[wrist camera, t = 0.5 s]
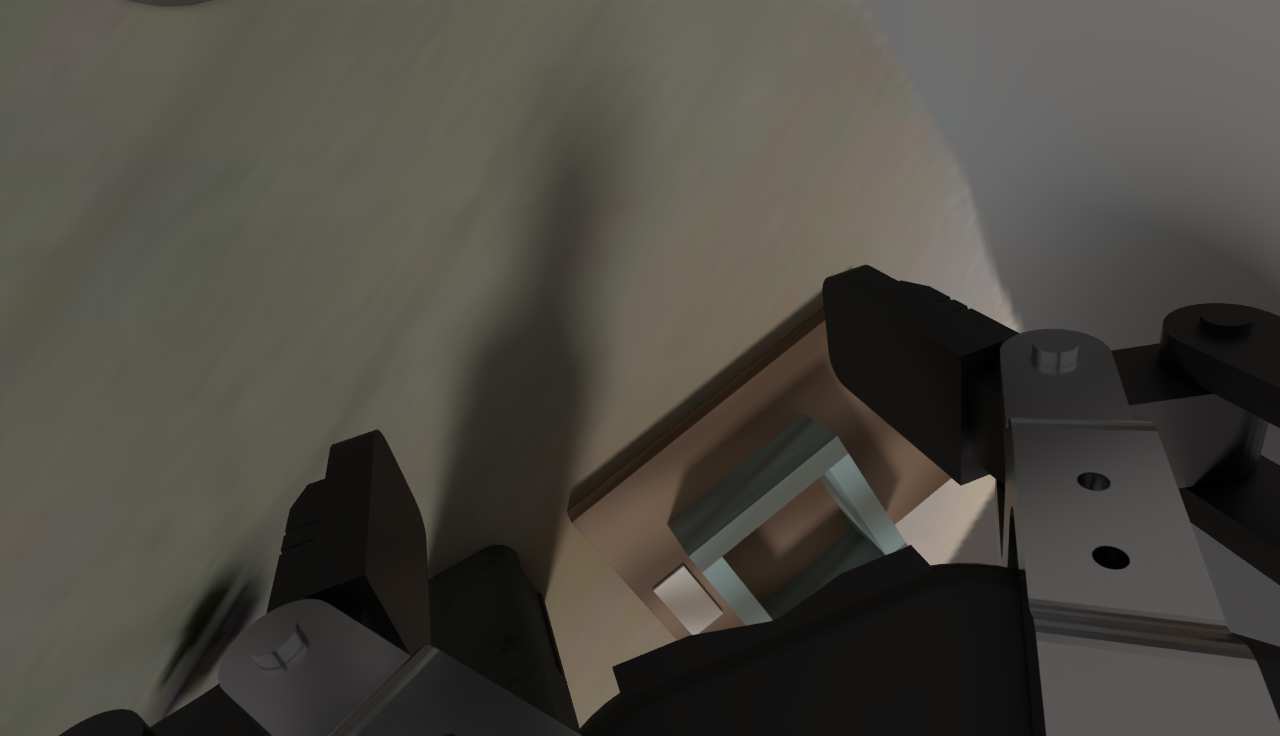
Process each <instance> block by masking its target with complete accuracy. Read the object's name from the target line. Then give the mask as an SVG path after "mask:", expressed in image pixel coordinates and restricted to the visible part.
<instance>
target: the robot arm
mask: <svg viewBox="0 0 1280 736" xmlns="http://www.w3.org/2000/svg"><path fill="white" fill-rule="evenodd" d="M128 1H132V2H138V3H144V4H150V5H156V6H187V5H195V4H198V3H202V2H206V1H210V0H128ZM822 291H823V303H824V313H825V322H826V332H827V342H828V352H829V358H830V362H831V365H832V368H833V370H834V373H835V375H836V376H837V378H838V380H839V381H840V382H841V384H842V385H843V386H844V387H845V388H846V389H848V390H849V391H850V392H851V393H852V394H854V395H855V396H856V397H857V398H858V399H859V400H861V401H862V402H863V403H864V404H865V405H866V406H868V407H869V408H870V409H871V410H872V411H874V412H875V413H876V414H877V415H878V416H879V417H881V418H882V419H883V420H884V421H885V422H886V423H888V424H889V425H890V426H891V427H892V428H894V429H895V430H896V431H897V432H898V433H899V434H901V435H902V436H903V437H904V438H905V439H906V440H908V441H909V442H910V443H911V444H912V445H914V446H915V447H916V448H917V449H918V450H919V451H921V452H922V453H923V454H924V455H925V456H926V457H928V458H929V459H930V460H931V461H932V462H934V463H935V464H936V465H937V466H938V467H939V468H941V469H942V470H943V471H944V472H945V473H946V474H948V475H949V476H950V477H951V478H952V479H954V480H955V481H956V482H957V483H958V484H959V485H964V484H966V483H969V482H971V481H974V480H976V479H979V478H981V477H984V476H986V475H989V474H990V475H992V476H993V477H994V478H995V479H996V482H995V505H996V522H997V539H998V555H999V566H997V565H987V564H979V563H950V564H938V565H931V566H930V565H929V564H928V562H927V561H926V560H925V559H924V558H923V557H922V556H921V555H920V554H919V553H918V552H917V551H916V550H915V549H914V548H913V547H912V546H911V545H909V546H907V547H905V548H902V549H900V550H897V551H895V552H892V553H890V554H887V555H885V556H883V557H880V558H878V559H875V560H873V561H870V562H868V563H865V564H863V565H861V566H858V567H856V568H853V569H851V570H848V571H846V572H843V573H841V574H840V575H838V576H837V577H836V578H834V579H833V580H831V581H830V582H829V583H827V584H826V585H824V586H823V587H822V588H820V589H819V590H818V591H816V592H815V593H813V594H812V595H811V596H809V597H808V598H806V599H805V600H804V601H802V602H801V603H800V604H798V605H797V606H795V607H794V608H793V609H791V610H790V611H788V612H787V613H786V614H784V615H783V616H781V617H780V618H778V619H775V620H772V621H768V622H763V623H758V624H752V625H746V626H740V627H735V628H729V629H723V630H718V631H712V632H706V633H701V634H695V635H689V636H687V637H684V638H682V639H680V640H677V641H675V642H672V643H670V644H667V645H665V646H662V647H660V648H657V649H655V650H653V651H650V652H648V653H645V654H643V655H640V656H638V657H635V658H633V659H631V660H628V661H626V662H623V663H621V664H618V665H616V666H613V667H612V668H613V671H614V674H615V677H616V680H617V684H618V687H619V690H620V693H619V694H617V695H616V696H615V697H613V698H612V699H611V700H609V701H608V702H607V703H605V704H604V705H603V706H602V707H601V708H600V709H599V710H598V711H597V712H595V713H594V714H593V715H592V716H591V717H590V718H589V719H588V720H587V721H586V722H585V724H584V725H583V726H582V727H581V728H580V729H579V730H578V731H577V732H575V731H574V730H572V729H570V728H569V727H567V726H565V725H564V724H562V723H560V722H559V721H557V720H555V719H554V718H552V717H550V716H549V715H547V714H545V713H544V712H542V711H540V710H539V709H537V708H535V707H534V706H532V705H530V704H529V703H527V702H525V701H524V700H522V699H520V698H519V697H517V696H515V695H514V694H512V693H510V692H509V691H507V690H505V689H504V688H502V687H500V686H499V685H497V684H495V683H494V682H492V681H490V680H489V679H487V678H485V677H484V676H482V675H480V674H479V673H477V672H475V671H474V670H472V669H470V668H469V667H467V666H465V665H464V664H462V663H460V662H459V661H457V660H455V659H454V658H452V657H451V656H449V655H447V654H446V653H444V652H442V651H441V650H439V649H437V648H435V647H433V646H431V637H430V614H429V591H428V568H427V545H426V533H425V527H424V523H423V520H422V516H421V513H420V510H419V508H418V505H417V503H416V501H415V498H414V496H413V494H412V492H411V490H410V488H409V486H408V484H407V482H406V480H405V478H404V476H403V474H402V472H401V470H400V468H399V466H398V464H397V462H396V459H395V457H394V455H393V453H392V451H391V449H390V447H389V445H388V443H387V441H386V439H385V438H384V436H383V434H382V433H381V432H380V431H379V430H374V431H371V432H368V433H365V434H362V435H359V436H356V437H353V438H350V439H347V440H344V441H341V442H339V443H336V444H333V445H332V446H331V448H330V452H329V458H328V464H327V470H326V476H325V479H323V480H320V481H317V482H314V483H311V484H308V485H307V487H306V488H305V489H304V491H303V492H302V493H301V495H300V496H299V497H298V499H297V500H296V502H295V503H294V504H293V506H292V507H291V508H290V512H289V516H288V521H287V525H286V529H285V532H286V535H285V536H284V538H283V543H282V547H281V552H282V554H281V555H280V556H279V560H278V565H277V569H276V573H275V578H274V582H273V587H272V591H271V595H270V600H269V604H268V609H267V613H266V614H265V615H264V616H262V617H261V618H259V619H258V620H257V621H255V622H254V623H252V624H251V625H250V626H249V627H248V628H247V629H245V630H244V631H243V632H242V633H241V634H240V635H239V636H238V637H237V639H236V640H235V641H234V642H233V643H232V645H231V646H230V647H229V649H228V650H227V652H226V654H225V655H224V657H223V659H222V662H221V664H220V668H219V672H218V681H219V684H218V685H216V686H215V687H214V688H212V689H211V690H209V691H208V692H206V693H205V694H203V695H202V696H200V697H198V698H197V699H195V700H193V701H192V702H190V703H189V704H187V705H185V706H184V707H182V708H180V709H179V710H177V711H176V712H174V713H172V714H171V715H169V716H168V717H166V718H164V719H163V720H161V721H159V722H158V723H156V724H155V725H153V726H151V727H149V726H148V725H147V724H146V723H145V722H144V721H143V719H142V718H141V717H140V716H139V715H138V714H137V713H135V712H133V711H131V710H125V709H119V710H111V711H107V712H103V713H100V714H97V715H95V716H92V717H90V718H88V719H86V720H84V721H82V722H80V723H78V724H76V725H75V726H73V727H71V728H70V729H68V730H67V731H65V732H64V733H62V734H61V735H59V736H1280V647H1279V646H1275V645H1272V644H1268V643H1265V642H1262V641H1258V640H1255V639H1251V638H1248V637H1245V636H1242V635H1238V634H1234V633H1232V632H1230V630H1229V628H1228V626H1227V624H1226V621H1225V618H1224V615H1223V613H1222V610H1221V607H1220V604H1219V601H1218V599H1217V596H1216V593H1215V590H1214V587H1213V585H1212V582H1211V579H1210V576H1209V573H1208V571H1207V568H1206V565H1205V562H1204V559H1203V557H1202V554H1201V551H1200V548H1199V545H1198V543H1197V540H1196V537H1195V534H1194V532H1193V529H1192V526H1191V523H1193V524H1194V525H1195V526H1197V527H1198V528H1200V529H1201V530H1203V531H1204V532H1205V533H1207V534H1208V535H1210V536H1211V537H1212V538H1214V539H1215V540H1217V541H1218V542H1219V543H1221V544H1222V545H1224V546H1225V547H1226V548H1228V549H1229V550H1231V551H1232V552H1233V553H1235V554H1236V555H1238V556H1239V557H1241V558H1242V559H1243V560H1245V561H1246V562H1248V563H1249V564H1250V565H1252V566H1253V567H1255V568H1256V569H1258V570H1259V571H1260V572H1262V573H1263V574H1264V575H1266V576H1267V577H1269V578H1270V579H1272V580H1273V581H1274V582H1276V583H1277V584H1279V585H1280V465H1278V464H1276V463H1274V462H1273V461H1271V460H1269V459H1267V458H1266V457H1264V456H1262V455H1260V454H1261V450H1262V447H1263V442H1264V439H1265V435H1266V431H1267V428H1268V424H1269V423H1271V424H1273V425H1275V426H1277V427H1279V428H1280V316H1277V315H1275V314H1272V313H1270V312H1267V311H1264V310H1261V309H1257V308H1253V307H1248V306H1243V305H1236V304H1223V303H1209V304H1208V303H1207V304H1197V305H1191V306H1186V307H1183V308H1179V309H1177V310H1174V311H1173V312H1171V313H1169V314H1168V315H1167V316H1166V317H1165V319H1164V321H1163V326H1162V332H1161V339H1160V343H1159V344H1153V345H1146V346H1139V347H1134V348H1126V349H1120V350H1113V351H1111V350H1110V348H1109V347H1108V346H1107V345H1106V344H1105V343H1104V342H1103V341H1101V340H1099V339H1098V338H1096V337H1094V336H1091V335H1088V334H1086V333H1082V332H1078V331H1073V330H1066V329H1039V330H1032V331H1027V332H1023V333H1018V332H1016V331H1014V330H1012V329H1010V328H1008V327H1006V326H1004V325H1002V324H1000V323H999V322H997V321H995V320H993V319H991V318H989V317H987V316H985V315H983V314H981V313H979V312H977V311H976V310H974V309H972V308H971V309H968V308H967V306H966V305H964V304H962V303H960V302H958V301H956V300H951V299H950V297H949V296H947V295H945V294H943V293H941V292H939V291H937V290H935V289H933V288H931V287H930V286H925V285H920V284H916V283H911V282H906V281H897V280H895V279H893V278H891V277H890V276H888V275H886V274H884V273H882V272H880V271H878V270H877V269H875V268H873V267H871V266H869V265H862V266H860V267H857V268H854V269H851V270H848V271H845V272H842V273H839V274H836V275H833V276H830V277H827V278H826V279H825V281H824V283H823V290H822ZM1190 522H1191V523H1190Z"/></svg>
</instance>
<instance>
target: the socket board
mask: <svg viewBox="0 0 1280 736" xmlns="http://www.w3.org/2000/svg"><path fill="white" fill-rule="evenodd" d="M949 479H951V477H950V476H949V475H948V474H946V473H945V472H944V471H943V470H942V469H941V468H939V467H938V466H937V465H936V464H935V463H934V462H932V461H931V460H930V459H929V458H928V457H926V456H925V455H924V454H923V453H922V452H921V451H919V450H918V449H917V448H916V447H915V446H914V445H912V444H911V443H910V442H909V441H908V440H906V439H905V438H904V437H903V436H902V435H901V434H899V433H898V432H897V431H896V430H895V429H894V428H892V427H891V426H890V425H889V424H888V423H886V422H885V421H884V420H883V419H882V418H881V417H879V416H878V415H877V414H876V413H875V412H874V411H872V410H871V409H870V408H869V407H868V406H866V405H865V404H864V403H863V402H862V401H861V400H859V399H858V398H857V397H856V396H855V395H854V394H852V393H851V392H850V391H849V390H848V389H846V388H845V387H844V386H843V385H842V384H841V382H840V381H839V380H838V378H837V376H836V375H835V373H834V370H833V368H832V365H831V362H830V358H829V352H828V342H827V332H826V322H825V313H824V307H823V308H821V309H820V310H819V311H818V312H816V313H815V314H814V315H813V316H811V317H810V318H809V319H808V320H806V321H805V322H804V323H803V324H801V325H800V326H799V327H798V328H796V329H795V330H794V331H793V332H791V333H790V334H789V335H788V336H786V337H785V338H784V339H783V340H781V341H780V342H779V343H778V344H776V345H775V346H774V347H773V348H771V349H770V350H769V351H768V352H766V353H765V354H764V355H763V356H761V357H760V358H759V359H758V360H756V361H755V362H754V363H752V364H751V365H750V366H749V367H747V368H746V369H745V370H744V371H742V372H741V373H740V374H739V375H737V376H736V377H735V378H734V379H732V380H731V381H730V382H729V383H727V384H726V385H725V386H724V387H722V388H721V389H720V390H719V391H717V392H716V393H715V394H714V395H712V396H711V397H710V398H709V399H707V400H706V401H705V402H704V403H702V404H701V405H700V406H699V407H697V408H696V409H695V410H694V411H692V412H691V413H690V414H689V415H687V416H686V417H685V418H684V419H682V420H681V421H680V422H679V423H677V424H676V425H675V426H674V427H672V428H671V429H670V430H669V431H667V432H666V433H665V434H664V435H662V436H661V437H660V438H659V439H657V440H656V441H655V442H653V443H652V444H651V445H650V446H648V447H647V448H646V449H645V450H643V451H642V452H641V453H640V454H638V455H637V456H636V457H635V458H633V459H632V460H631V461H630V462H628V463H627V464H626V465H625V466H623V467H622V468H621V469H620V470H618V471H617V472H616V473H615V474H613V475H612V476H611V477H610V478H608V479H607V480H606V481H605V482H603V483H602V484H601V485H600V486H598V487H597V488H596V489H595V490H593V491H592V492H591V493H590V494H588V495H587V496H586V497H585V498H583V499H582V500H581V501H580V502H578V503H577V504H576V505H575V506H573V507H572V508H571V509H570V510H568V511H567V513H568V515H569V517H570V520H571V522H572V524H573V525H574V526H575V527H576V528H577V529H578V530H579V531H580V533H581V534H582V535H583V536H584V537H585V538H586V539H587V540H588V541H589V543H590V544H591V545H592V546H593V547H594V548H595V549H596V550H597V551H598V553H599V554H600V555H601V556H602V557H603V558H604V559H605V560H606V561H607V563H608V564H609V565H610V566H611V567H612V568H613V569H614V570H615V571H616V573H617V574H618V575H619V576H620V577H621V578H622V579H623V580H624V581H625V583H626V584H627V585H628V586H629V587H630V588H631V589H632V590H633V591H634V593H635V594H636V595H637V596H638V597H639V598H640V599H641V600H642V601H643V603H644V604H645V605H646V606H647V607H648V608H649V609H650V610H651V611H652V613H653V614H654V615H655V616H656V617H657V618H658V619H659V620H660V621H661V623H662V624H663V625H664V626H665V627H666V628H667V629H668V630H669V631H670V633H671V634H672V635H673V636H674V637H675V638H676V639H677V640H680V639H682V638H684V637H687V636H689V635H695V634H701V633H706V632H712V631H718V630H723V629H729V628H735V627H740V626H746V625H752V624H758V623H763V622H768V621H772V620H775V619H778V618H780V617H781V616H783V615H784V614H786V613H787V612H788V611H790V610H791V609H793V608H794V607H795V606H797V605H798V604H800V603H801V602H802V601H804V600H805V599H806V598H808V597H809V596H811V595H812V594H813V593H815V592H816V591H818V590H819V589H820V588H822V587H823V586H824V585H826V584H827V583H829V582H830V581H831V580H833V579H834V578H836V577H837V576H838V575H840V574H841V573H843V572H846V571H848V570H851V569H853V568H856V567H858V566H861V565H863V564H865V563H868V562H870V561H873V560H875V559H878V558H880V557H883V556H885V555H887V554H890V553H892V552H895V551H897V550H900V549H902V548H905V547H907V546H908V545H907V544H906V542H905V541H904V539H903V538H902V536H901V534H900V533H899V531H898V530H897V528H896V527H895V524H896V523H897V522H899V521H900V520H901V519H902V518H903V517H905V516H906V515H907V514H908V513H909V512H911V511H912V510H913V509H914V508H916V507H917V506H918V505H919V504H920V503H922V502H923V501H924V500H925V499H926V498H928V497H929V496H930V495H931V494H932V493H934V492H935V491H936V490H937V489H938V488H940V487H941V486H942V485H943V484H945V483H946V482H947V481H948V480H949Z"/></svg>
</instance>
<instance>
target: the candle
mask: <svg viewBox="0 0 1280 736" xmlns="http://www.w3.org/2000/svg"><path fill="white" fill-rule="evenodd" d="M428 591H429V614H430V637H431V646H433V647H435V648H437V649H439V650H441V651H442V652H444V653H446V654H447V655H449V656H451V657H452V658H454V659H455V660H457V661H459V662H460V663H462V664H464V665H465V666H467V667H469V668H470V669H472V670H474V671H475V672H477V673H479V674H480V675H482V676H484V677H485V678H487V679H489V680H490V681H492V682H494V683H495V684H497V685H499V686H500V687H502V688H504V689H505V690H507V691H509V692H510V693H512V694H514V695H515V696H517V697H519V698H520V699H522V700H524V701H525V702H527V703H529V704H530V705H532V706H534V707H535V708H537V709H539V710H540V711H542V712H544V713H545V714H547V715H549V716H550V717H552V718H554V719H555V720H557V721H559V722H560V723H562V724H564V725H565V726H567V727H569V728H570V729H572V730H574V731H575V732H577V731H578V730H579V729H580V728H579V725H578V721H577V717H576V714H575V710H574V707H573V703H572V699H571V696H570V692H569V688H568V685H567V681H566V678H565V674H564V670H563V667H562V663H561V659H560V656H559V652H558V648H557V645H556V641H555V638H554V634H553V630H552V627H551V623H550V619H549V616H548V612H547V609H546V605H545V601H544V598H543V596H542V594H541V593H536V591H535V590H534V588H533V586H532V585H531V583H530V582H529V580H528V578H527V577H526V575H525V574H524V572H523V570H522V569H521V566H520V562H519V558H518V555H517V554H516V553H515V551H514V550H512V549H510V548H509V547H506V546H501V545H495V546H490V547H488V548H485V549H483V550H481V551H480V552H478V553H476V554H474V555H473V556H471V557H469V558H467V559H465V560H464V561H462V562H460V563H458V564H456V565H455V566H453V567H451V568H449V569H447V570H446V571H444V572H442V573H440V574H438V575H437V576H435V577H433V578H432V579H431V580H429V581H428Z"/></svg>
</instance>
